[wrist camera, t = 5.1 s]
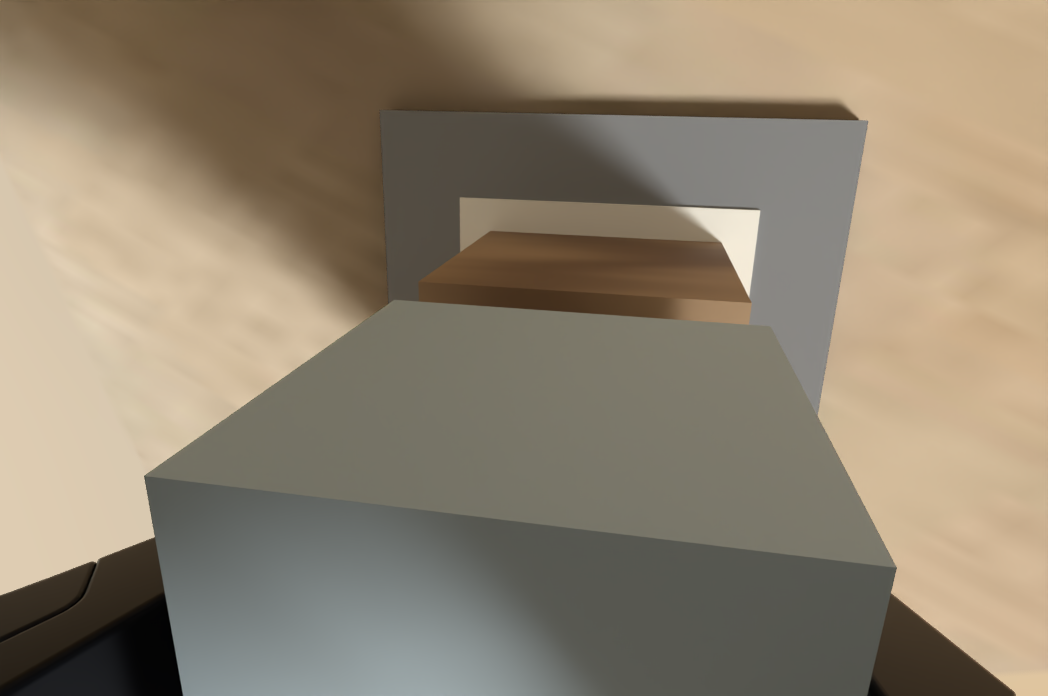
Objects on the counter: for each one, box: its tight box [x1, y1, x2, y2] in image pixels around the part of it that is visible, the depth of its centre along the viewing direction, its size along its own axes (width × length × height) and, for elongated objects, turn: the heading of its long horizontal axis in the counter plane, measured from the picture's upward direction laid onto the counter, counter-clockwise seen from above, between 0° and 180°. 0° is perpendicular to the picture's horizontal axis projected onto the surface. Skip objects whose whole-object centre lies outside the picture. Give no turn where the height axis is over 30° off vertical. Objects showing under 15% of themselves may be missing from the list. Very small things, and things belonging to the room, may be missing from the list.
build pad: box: [380, 110, 868, 415], centre depth 16 cm, size 10×10×1 cm
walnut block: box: [418, 231, 752, 325], centre depth 14 cm, size 5×5×5 cm
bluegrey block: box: [144, 300, 897, 696], centre depth 8 cm, size 5×5×5 cm
